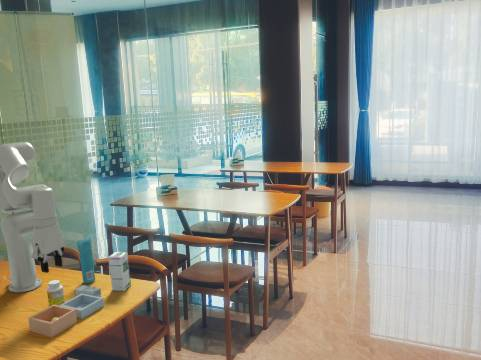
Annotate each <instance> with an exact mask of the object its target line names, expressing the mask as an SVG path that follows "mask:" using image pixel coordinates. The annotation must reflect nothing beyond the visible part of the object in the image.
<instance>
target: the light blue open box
mask: <svg viewBox="0 0 481 360" xmlns="http://www.w3.org/2000/svg"><path fill="white" fill-rule="evenodd" d="M60 306H62V307H67V308H71V309H75V310H76V317H77V319H80V320H83V319H84V320H85V318H87V317H88V316H91V315H92V314H94V313H95V312H97V311H99V310H100V309H102V308H104V307H105V304H104V298H103V297H102V296H101V297H96V296H91V295H87V294H80V295H78V296H75V297H74V298H71V299H69V300H67V301H65V303H63V304H62V305H60Z"/></svg>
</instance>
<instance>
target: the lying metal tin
mask: <svg viewBox="0 0 481 360" xmlns="http://www.w3.org/2000/svg"><path fill="white" fill-rule="evenodd" d="M101 288H102V287H97V286H90V285H85V284H82V285H80V286H78V287H76V288H75V290H74V291H75V295H76V296H78V295H80V294H87V295H91V296H96V297H101V298H102V290H101ZM76 296H75V297H76Z"/></svg>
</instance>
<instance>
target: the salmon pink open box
mask: <svg viewBox="0 0 481 360" xmlns="http://www.w3.org/2000/svg"><path fill="white" fill-rule="evenodd" d="M55 317H57V319H56V320H54V321H52V322H51V320H52V319H53V318H55ZM77 319H78V318H77V317H76V310H75V309H71V308H67V307H62V306H58V305H52V306H50V307H45V309H43V310H41V311H38V312H37V313H35V314H33V315H31V316H29V317H28V318H27V320H28V326H29V331H30V332H31V333H32V332H33V333H36V334H39V335H43V336H45V337H49V338H53V337H55V336H57V335H59V334H60V333H62V332H63V331H65V330H67V329H68V328H70V327H72V326H74V325H75V324H76V323H78V320H77Z"/></svg>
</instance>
